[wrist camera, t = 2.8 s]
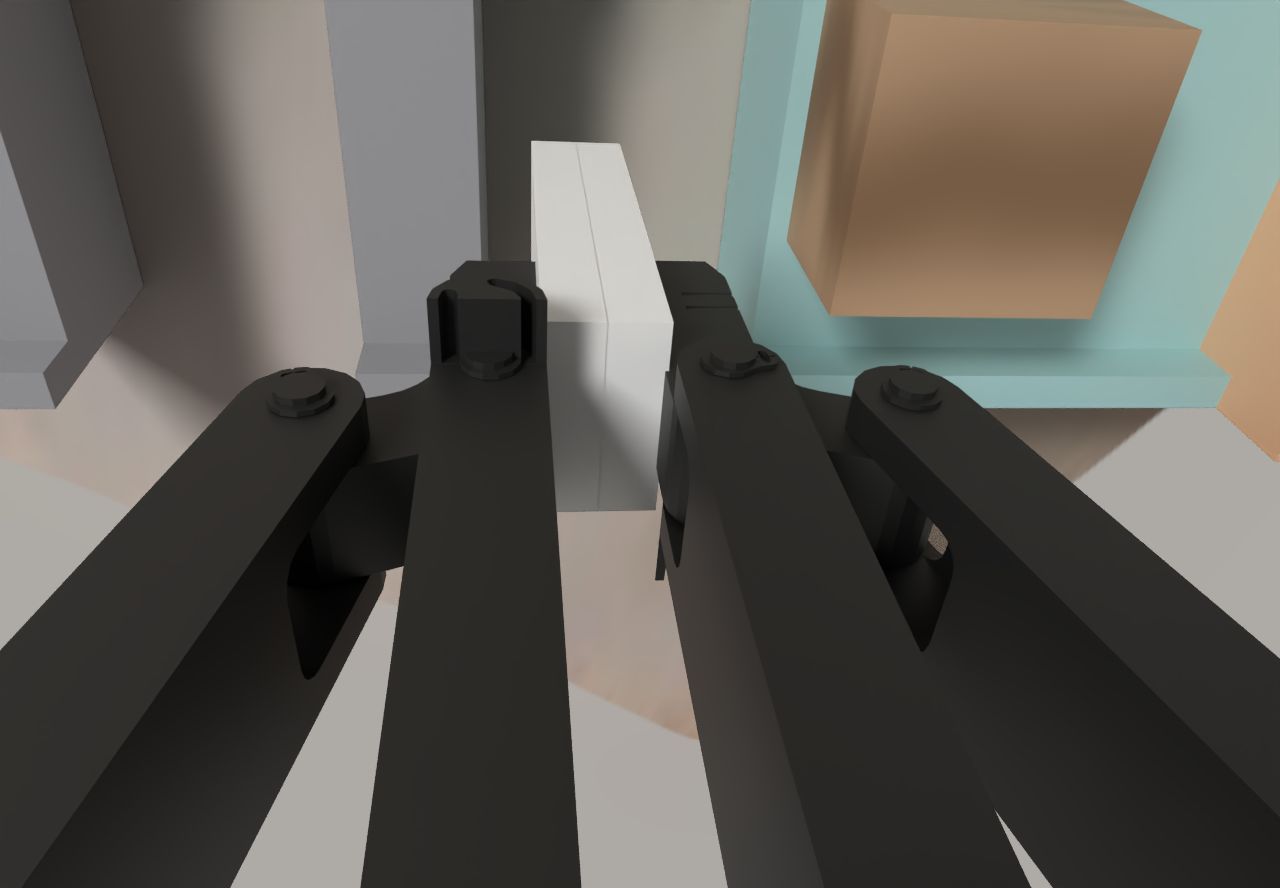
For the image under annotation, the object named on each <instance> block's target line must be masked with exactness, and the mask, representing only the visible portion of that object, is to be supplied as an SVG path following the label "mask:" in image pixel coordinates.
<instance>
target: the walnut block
mask: <svg viewBox="0 0 1280 888" xmlns="http://www.w3.org/2000/svg"><path fill="white" fill-rule="evenodd" d="M1201 33H1202V30H1201V29H1198V28H1195V27H1193V26H1190V25H1187V24H1185V23H1182V22H1180V21H1177V20H1174V19H1172V18H1169V17H1166V16H1164V15H1161V14H1159V13H1156V12H1153V11H1151V10H1148V9H1145V8H1143V7H1140V6H1138V5H1135V4H1132V3H1130V2H1127V1H1124V0H827V1H826V7H825V13H824V19H823V25H822V31H821V37H820V43H819V49H818V55H817V61H816V67H815V73H814V79H813V85H812V91H811V97H810V103H809V109H808V115H807V121H806V127H805V133H804V139H803V145H802V151H801V157H800V163H799V169H798V175H797V181H796V187H795V193H794V198H793V204H792V210H791V216H790V222H789V228H788V234H787V242H788V244H789V246H790V247H791V249H792V251H793V253H794V254H795V256H796V258H797V260H798V261H799V263H800V265H801V267H802V268H803V270H804V272H805V274H806V275H807V277H808V279H809V281H810V282H811V284H812V286H813V288H814V289H815V291H816V293H817V295H818V296H819V298H820V300H821V302H822V303H823V305H824V307H825V309H826V310H827V312H828V314H829V316H872V317H959V318H1047V319H1091V318H1092V315H1093V313H1094V310H1095V308H1096V305H1097V303H1098V300H1099V297H1100V295H1101V292H1102V290H1103V287H1104V284H1105V282H1106V279H1107V277H1108V274H1109V271H1110V269H1111V266H1112V264H1113V261H1114V258H1115V256H1116V253H1117V251H1118V248H1119V245H1120V243H1121V240H1122V238H1123V235H1124V232H1125V230H1126V227H1127V225H1128V222H1129V219H1130V217H1131V214H1132V212H1133V209H1134V207H1135V204H1136V201H1137V199H1138V196H1139V194H1140V191H1141V188H1142V186H1143V183H1144V181H1145V178H1146V175H1147V173H1148V170H1149V168H1150V165H1151V162H1152V160H1153V157H1154V155H1155V152H1156V149H1157V147H1158V144H1159V142H1160V139H1161V136H1162V134H1163V131H1164V129H1165V126H1166V124H1167V121H1168V118H1169V116H1170V113H1171V111H1172V108H1173V105H1174V103H1175V100H1176V98H1177V95H1178V92H1179V90H1180V87H1181V85H1182V82H1183V79H1184V77H1185V74H1186V72H1187V69H1188V66H1189V64H1190V61H1191V59H1192V56H1193V53H1194V51H1195V48H1196V46H1197V43H1198V40H1199V38H1200V35H1201Z"/></svg>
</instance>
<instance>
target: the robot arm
mask: <svg viewBox="0 0 1280 888" xmlns="http://www.w3.org/2000/svg"><path fill="white" fill-rule="evenodd" d="M426 300H427V315H428V330H429V344H430V359H431V367H430V374H429V377H428V378H426V379H425V380H423V381H422V382H420V383H419V384H417V385H415V386H412V387H410V388H407V389H405V390H402V391H398V392H394V393H390V394H386V395H381V396H376V397H370V398H366V397H365V392H364V390H363V388H362V386H361V384H360V382H359V381H357V380H356V379H354V378H352V377H351V376H349V375H348V374H346V373H342V372H338V371H334V370H330V369H326V368H309V367H300V368H294V369H292V370H291V369H286V370H281V371H278V372H276V373H274V374H271V375H268V376H266V377H263V378H260V379H258V380H256V381H254V382H253V383H252V384H250V385H249V386H248V387H246V388H245V389H243V390H242V391H241V392H240V393H239V394H238V395H237V396H236V397H235V398H234V399H233V401H232V402H231V403H230V404H229V405H228V406H227V407H226V408H225V409H224V410H223V411H222V412H221V413H220V415H219V416H218V417H217V418H216V419H215V420H214V421H213V422H212V423H211V424H210V425H209V426H208V427H207V428H206V430H205V431H204V432H203V433H202V434H201V435H200V436H199V437H198V438H197V439H196V440H195V441H194V442H193V444H192V445H191V446H190V447H189V448H188V449H187V450H186V451H185V452H184V453H183V454H182V455H181V456H180V458H179V459H178V460H177V461H176V462H175V463H174V464H173V465H172V466H171V467H170V468H169V469H168V470H167V472H166V473H165V474H164V475H163V476H162V477H161V478H160V479H159V480H158V481H157V482H156V483H155V484H154V486H153V487H152V488H151V489H150V490H149V491H148V492H147V493H146V494H145V495H144V496H143V497H142V498H141V500H140V501H139V502H138V503H137V504H136V505H135V506H134V507H133V508H132V509H131V510H130V511H129V513H127V515H126V516H125V517H124V518H123V519H122V520H121V521H120V522H119V523H118V524H117V525H116V526H115V527H114V529H113V530H112V531H111V532H110V533H109V534H108V535H107V536H106V537H105V538H104V540H102V541H101V543H100V544H99V545H98V546H97V547H96V548H95V549H94V550H93V551H92V553H90V554H89V555H88V557H87V558H86V559H85V560H84V561H83V562H82V563H81V564H80V565H79V566H78V567H77V569H75V571H74V572H73V573H72V574H71V575H70V576H69V577H68V578H67V579H66V580H65V581H64V582H63V583H62V585H61V586H60V587H59V588H58V589H57V590H56V591H55V592H54V593H53V594H52V595H51V597H49V599H48V600H47V601H46V602H45V603H44V604H43V605H42V606H41V607H40V608H39V609H38V610H37V612H35V614H34V615H33V616H32V617H31V618H30V619H29V620H28V621H27V622H26V623H25V624H24V626H22V628H21V629H20V630H19V631H18V632H17V633H16V634H15V635H14V636H13V637H12V639H10V641H9V642H8V643H7V644H6V645H5V646H4V647H3V648H2V649H1V650H0V888H230V887H231V885H232V883H233V880H234V879H235V877H236V875H237V873H238V871H239V869H240V867H241V865H242V863H243V861H244V859H245V857H246V856H247V854H248V851H249V850H250V848H251V846H252V844H253V842H254V840H255V838H256V836H257V834H258V832H259V830H260V828H261V826H262V824H263V822H264V820H265V818H266V817H267V815H268V813H269V811H270V809H271V807H272V804H273V803H274V801H275V799H276V797H277V795H278V793H279V791H280V789H281V787H282V785H283V783H284V781H285V779H286V777H287V776H288V774H289V772H290V770H291V768H292V766H293V764H294V762H295V760H296V758H297V756H298V754H299V752H300V750H301V748H302V746H303V744H304V742H305V740H306V738H307V736H308V735H309V732H310V731H311V729H312V727H313V725H314V723H315V721H316V719H317V717H318V715H319V713H320V711H321V709H322V707H323V705H324V703H325V701H326V699H327V697H328V695H329V693H330V691H331V690H332V688H333V686H334V684H335V682H336V680H337V678H338V676H339V674H340V672H341V670H342V668H343V666H344V664H345V662H346V660H347V658H348V656H349V654H350V653H351V650H352V649H353V646H354V645H355V643H356V641H357V639H358V637H359V635H360V633H361V631H362V629H363V627H364V625H365V623H366V621H367V619H368V617H369V615H370V614H371V611H372V610H373V608H374V606H375V604H376V602H377V600H378V598H379V596H380V594H381V592H382V590H383V587H384V582H385V578H386V570H390V569H394V568H398V567H402V566H404V568H403V575H402V582H401V590H400V597H399V605H398V612H397V620H396V627H395V635H394V642H393V649H392V657H391V664H390V672H389V679H388V687H387V694H386V701H385V709H384V717H383V724H382V731H381V739H380V746H379V753H378V761H377V769H376V776H375V783H374V791H373V798H372V806H371V813H370V821H369V828H368V835H367V843H366V850H365V858H364V866H363V872H362V880H361V888H581V875H580V860H579V845H578V830H577V815H576V800H575V784H574V771H573V754H572V739H571V724H570V708H569V694H568V678H567V663H566V648H565V633H564V617H563V602H562V587H561V572H560V557H559V542H558V527H557V512H585V511H640V510H656V500H657V489H658V479H659V484H660V489H661V494H662V498H663V509H662V518H661V528H660V538H659V548H658V558H657V567H656V577H655V580H664V576H665V569H666V570H667V575H668V580H669V585H670V590H671V595H672V601H673V606H674V611H675V616H676V621H677V626H678V632H679V637H680V642H681V647H682V652H683V658H684V663H685V668H686V673H687V678H688V683H689V689H690V694H691V699H692V704H693V709H694V714H695V720H696V725H697V730H698V735H699V740H700V746H701V751H702V756H703V761H704V766H705V771H706V777H707V782H708V787H709V792H710V797H711V802H712V808H713V813H714V818H715V823H716V828H717V833H718V839H719V844H720V849H721V854H722V859H723V865H724V870H725V875H726V880H727V885H728V888H1031V886H1030V884H1029V882H1028V880H1027V878H1026V876H1025V874H1024V871H1023V869H1022V867H1021V865H1020V863H1019V861H1018V859H1017V857H1016V855H1015V852H1014V850H1013V848H1012V846H1011V844H1010V842H1009V839H1008V837H1007V835H1006V833H1005V831H1004V829H1003V827H1002V824H1001V822H1000V820H999V818H998V816H997V814H996V812H997V813H998V814H999V816H1000V817H1001V818H1002V820H1003V821H1004V822H1005V824H1006V825H1007V827H1008V828H1009V829H1010V831H1011V832H1012V833H1013V835H1014V836H1015V837H1016V839H1017V840H1018V841H1019V842H1020V844H1021V845H1022V847H1023V848H1024V849H1025V851H1026V852H1027V854H1028V855H1029V856H1030V857H1031V859H1032V860H1033V862H1034V863H1035V864H1036V865H1037V867H1038V868H1039V870H1040V871H1041V872H1042V874H1043V875H1044V876H1045V878H1046V879H1047V880H1048V882H1049V883H1050V885H1051V886H1052V887H1053V888H1280V658H1278V657H1277V656H1276V655H1275V654H1274V653H1272V652H1271V651H1270V650H1269V649H1268V648H1266V646H1264V645H1263V644H1262V643H1261V642H1260V641H1258V640H1257V639H1256V638H1255V637H1254V636H1253V635H1251V634H1250V633H1249V632H1248V631H1247V630H1245V629H1244V628H1243V627H1242V626H1241V625H1239V624H1238V623H1237V622H1236V621H1235V620H1233V619H1232V618H1231V617H1230V616H1229V615H1228V614H1226V613H1225V612H1224V611H1223V610H1222V609H1221V608H1219V607H1218V606H1217V605H1216V604H1215V603H1213V602H1212V601H1211V600H1210V599H1209V598H1208V597H1206V596H1205V595H1204V594H1203V593H1201V592H1200V591H1199V590H1198V589H1197V588H1196V587H1194V586H1193V585H1192V584H1191V583H1190V582H1189V581H1187V580H1186V579H1185V578H1184V577H1183V576H1181V575H1180V574H1179V573H1178V572H1177V571H1176V570H1174V569H1173V568H1172V567H1171V566H1169V565H1168V564H1167V563H1166V562H1165V561H1164V560H1162V559H1161V558H1160V557H1159V556H1158V555H1157V554H1155V553H1154V552H1153V551H1152V550H1151V549H1149V548H1148V547H1147V546H1146V545H1145V544H1144V543H1142V542H1141V541H1140V540H1139V539H1138V538H1136V537H1135V536H1134V535H1133V534H1132V533H1131V532H1129V531H1128V530H1127V529H1126V528H1124V527H1123V526H1122V525H1121V524H1120V523H1119V522H1117V521H1116V520H1115V519H1114V518H1113V517H1112V516H1110V515H1109V514H1108V513H1107V512H1106V511H1105V510H1103V509H1102V508H1101V507H1100V506H1098V505H1097V504H1096V503H1095V502H1094V501H1093V500H1092V499H1090V498H1089V497H1088V496H1087V495H1085V494H1084V493H1083V492H1082V491H1081V490H1080V489H1078V488H1077V487H1076V486H1075V485H1074V484H1073V483H1071V482H1070V481H1069V480H1068V479H1067V478H1065V477H1064V476H1063V475H1062V474H1061V473H1060V472H1058V471H1057V470H1056V469H1055V468H1054V467H1052V466H1051V465H1050V464H1049V463H1048V462H1047V461H1045V460H1044V459H1043V458H1042V457H1041V456H1039V455H1038V454H1037V453H1036V452H1035V451H1034V450H1032V449H1031V448H1030V447H1029V446H1028V445H1026V444H1025V443H1024V442H1023V441H1022V440H1020V439H1019V438H1018V437H1017V436H1016V435H1015V434H1013V433H1012V432H1011V431H1010V430H1009V429H1007V428H1006V427H1005V426H1004V425H1003V424H1002V423H1000V422H999V421H998V420H997V419H996V418H994V417H993V416H992V415H991V414H990V413H989V412H987V411H986V410H985V409H984V408H983V407H981V406H980V405H979V404H978V403H977V402H976V401H974V400H973V399H972V398H971V397H970V396H968V395H967V394H966V393H965V392H964V391H962V390H961V389H960V388H959V387H958V386H956V385H954V384H953V383H951V382H950V381H948V380H946V379H945V378H943V377H941V376H939V375H936V374H933V373H930V372H928V371H927V370H925V369H923V368H918V367H914V366H912V368H911V367H910V366H907V365H896V366H879V367H875V368H872V369H868V370H865V371H863V372H862V373H861V374H860V375H859V376H858V377H856V378H855V381H854V386H853V390H852V394H851V396H845V395H840V394H834V393H828V392H823V391H818V390H814V389H809V388H805V387H802V386H799V385H796V384H795V383H794V380H793V378H792V376H791V374H790V372H789V370H788V368H787V365H786V364H785V362H784V361H783V360H782V359H781V358H780V357H779V355H778V354H777V353H775V352H773V351H771V350H770V349H768V348H766V347H764V346H763V345H760V344H756V343H753V340H752V338H751V336H750V333H749V331H748V329H747V326H746V324H745V322H744V320H743V317H742V315H741V313H740V310H738V306H737V303H736V301H735V299H734V297H733V296H732V292H731V290H730V287H729V285H728V283H727V280H726V278H725V276H723V275H722V274H721V273H719V272H718V271H717V270H715V269H714V268H713V267H711V266H710V265H709V264H707V263H706V262H696V261H655V259H654V256H653V252H652V249H651V246H650V242H649V239H648V236H647V233H646V229H645V226H644V223H643V219H642V216H641V213H640V209H639V206H638V203H637V199H636V196H635V193H634V189H633V186H632V183H631V179H630V176H629V173H628V169H627V166H626V163H625V160H624V156H623V153H622V150H621V146H620V144H616V143H585V142H554V141H531V261H474V260H466V261H465V262H464V263H463V264H462V265H461V266H460V267H459V268H458V269H457V270H455V271H454V272H453V273H452V274H451V275H450V280H446V281H445V282H443V283H441V284H439V285H438V286H436V287H434V288H433V289H432V290H431V292H430V293H429V295H428V297H427V298H426ZM933 523H934V524H935V525H936V526H937V527H938V528H939V529H940V531H941V532H942V534H943V535H944V536H945V538H946V539H947V541H948V545H947V548H946V551H945V553H944V554H943V555H942V554H941V553H939V552H938V551H937V550H936V549H935V548H934V547H933V546H932V545H931V543H930V542H929V541H928V538H929V535H930V532H931V529H932V525H933ZM994 809H995V810H996V812H995V810H994Z"/></svg>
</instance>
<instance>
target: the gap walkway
mask: <svg viewBox="0 0 1280 888" xmlns="http://www.w3.org/2000/svg"><path fill="white" fill-rule="evenodd" d="M826 1H827V0H751V6H750V14H749V22H748V30H747V38H746V46H745V54H744V62H743V70H742V78H741V86H740V94H739V102H738V110H737V118H736V126H735V135H734V143H733V151H732V159H731V167H730V175H729V183H728V191H727V199H726V207H725V215H724V223H723V231H722V239H721V247H720V255H719V263H718V272H719V273H721V274H722V275H723V276H725V278H726V280H727V283H728V285H729V287H730V290H731V292H732V296H733V297H734V299H735V301H736V303H737V306H738V310H740V313H741V315H742V317H743V320H744V322H745V324H746V326H747V329H748V331H749V333H750V336H751V338H752V340H753V343H756V344H760V345H763V346H764V347H766V348H768V349H770V350H771V351H773V352H775V353H777V354H778V355H779V357H780V358H781V359H782V360H783V361H784V362H785V364H786V365H787V368H788V370H789V372H790V374H791V376H792V378H793V380H794V383H795V384H796V385H799V386H802V387H805V388H809V389H814V390H818V391H823V392H828V393H834V394H840V395H845V396H851V394H852V390H853V386H854V381H855V378H856V377H858V376H859V375H860V374H861V373H862V372H863V371H865V370H868V369H872V368H875V367H879V366H896V365H907V366H910V367H911V368H912V366H914V367H918V368H923V369H925V370H927V371H928V372H930V373H933V374H936V375H939V376H941V377H943V378H945V379H946V380H948V381H950V382H951V383H953V384H954V385H956V386H958V387H959V388H960V389H961V390H962V391H964V392H965V393H966V394H967V395H968V396H970V397H971V398H972V399H973V400H974V401H976V402H977V403H978V404H979V405H980V406H981V407H983V408H1217V409H1218V410H1219V411H1220V412H1221V413H1222V414H1223V415H1224V416H1226V417H1227V418H1228V419H1229V420H1230V421H1231V422H1232V423H1233V424H1234V425H1235V426H1237V427H1238V428H1239V429H1240V430H1241V431H1242V432H1243V433H1244V434H1245V435H1246V436H1247V437H1249V438H1250V439H1251V440H1252V441H1253V442H1254V443H1255V444H1256V445H1257V446H1258V447H1260V448H1261V449H1262V450H1263V451H1264V452H1265V453H1266V454H1267V455H1268V456H1269V457H1270V458H1272V459H1273V460H1274V461H1276V462H1279V461H1280V0H1124V1H1127V2H1130V3H1132V4H1135V5H1138V6H1140V7H1143V8H1145V9H1148V10H1151V11H1153V12H1156V13H1159V14H1161V15H1164V16H1166V17H1169V18H1172V19H1174V20H1177V21H1180V22H1182V23H1185V24H1187V25H1190V26H1193V27H1195V28H1198V29H1201V30H1202V33H1201V35H1200V38H1199V40H1198V43H1197V46H1196V48H1195V51H1194V53H1193V56H1192V59H1191V61H1190V64H1189V66H1188V69H1187V72H1186V74H1185V77H1184V79H1183V82H1182V85H1181V87H1180V90H1179V92H1178V95H1177V98H1176V100H1175V103H1174V105H1173V108H1172V111H1171V113H1170V116H1169V118H1168V121H1167V124H1166V126H1165V129H1164V131H1163V134H1162V136H1161V139H1160V142H1159V144H1158V147H1157V149H1156V152H1155V155H1154V157H1153V160H1152V162H1151V165H1150V168H1149V170H1148V173H1147V175H1146V178H1145V181H1144V183H1143V186H1142V188H1141V191H1140V194H1139V196H1138V199H1137V201H1136V204H1135V207H1134V209H1133V212H1132V214H1131V217H1130V219H1129V222H1128V225H1127V227H1126V230H1125V232H1124V235H1123V238H1122V240H1121V243H1120V245H1119V248H1118V251H1117V253H1116V256H1115V258H1114V261H1113V264H1112V266H1111V269H1110V271H1109V274H1108V277H1107V279H1106V282H1105V284H1104V287H1103V290H1102V292H1101V295H1100V297H1099V300H1098V303H1097V305H1096V308H1095V310H1094V313H1093V315H1092V318H1091V319H1047V318H959V317H872V316H829V314H828V312H827V310H826V309H825V307H824V305H823V303H822V302H821V300H820V298H819V296H818V295H817V293H816V291H815V289H814V288H813V286H812V284H811V282H810V281H809V279H808V277H807V275H806V274H805V272H804V270H803V268H802V267H801V265H800V263H799V261H798V260H797V258H796V256H795V254H794V253H793V251H792V249H791V247H790V246H789V244H788V242H787V234H788V228H789V222H790V216H791V210H792V204H793V198H794V193H795V187H796V181H797V175H798V169H799V163H800V157H801V151H802V145H803V139H804V133H805V127H806V121H807V115H808V109H809V103H810V97H811V91H812V85H813V79H814V73H815V67H816V61H817V55H818V49H819V43H820V37H821V31H822V25H823V19H824V13H825V7H826ZM324 5H325V13H326V22H327V30H328V39H329V48H330V56H331V65H332V74H333V82H334V91H335V100H336V108H337V117H338V126H339V134H340V143H341V151H342V160H343V169H344V177H345V186H346V195H347V203H348V212H349V221H350V229H351V238H352V246H353V255H354V264H355V272H356V281H357V290H358V298H359V307H360V316H361V324H362V333H363V342H364V344H363V348H362V351H361V355H360V359H359V362H358V366H357V370H356V374H355V375H356V380H357V381H359V382H360V384H361V386H362V388H363V390H364V392H365V397H366V398H370V397H376V396H381V395H386V394H390V393H394V392H398V391H402V390H405V389H407V388H410V387H412V386H415V385H417V384H419V383H420V382H422V381H423V380H425V379H426V378H428V377H429V374H430V367H431V359H430V344H429V330H428V315H427V300H426V298H427V297H428V295H429V293H430V292H431V290H432V289H433V288H434V287H436V286H438V285H439V284H441V283H443V282H445V281H446V280H450V275H451V274H452V273H453V272H454V271H455V270H457V269H458V268H459V267H460V266H461V265H462V264H463V263H464V262H465V261H466V260H474V261H489V252H488V215H487V178H486V141H485V104H484V66H483V29H482V0H324ZM142 288H143V283H142V279H141V275H140V271H139V268H138V264H137V260H136V256H135V252H134V248H133V244H132V241H131V237H130V233H129V229H128V225H127V221H126V217H125V214H124V210H123V206H122V202H121V198H120V194H119V190H118V187H117V183H116V179H115V175H114V171H113V167H112V163H111V160H110V156H109V152H108V148H107V144H106V140H105V136H104V133H103V129H102V125H101V121H100V117H99V113H98V109H97V106H96V102H95V98H94V94H93V90H92V86H91V82H90V79H89V75H88V71H87V67H86V63H85V59H84V55H83V52H82V48H81V44H80V40H79V36H78V32H77V28H76V25H75V21H74V17H73V13H72V9H71V5H70V1H69V0H0V409H56V407H57V406H58V405H59V403H60V402H61V401H62V399H63V398H64V396H65V395H66V394H67V392H68V391H69V390H70V388H71V387H72V385H73V384H74V383H75V381H76V380H77V378H78V377H79V376H80V374H81V373H82V372H83V370H84V369H85V367H86V366H87V365H88V363H89V362H90V360H91V359H92V358H93V356H94V355H95V354H96V352H97V351H98V349H99V348H100V347H101V345H102V344H103V342H104V341H105V340H106V338H107V337H108V336H109V334H110V333H111V331H112V330H113V329H114V327H115V326H116V324H117V323H118V322H119V320H120V319H121V318H122V316H123V315H124V313H125V312H126V311H127V309H128V308H129V306H130V305H131V304H132V302H133V301H134V300H135V298H136V297H137V295H138V294H139V293H140V291H141V290H142Z"/></svg>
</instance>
